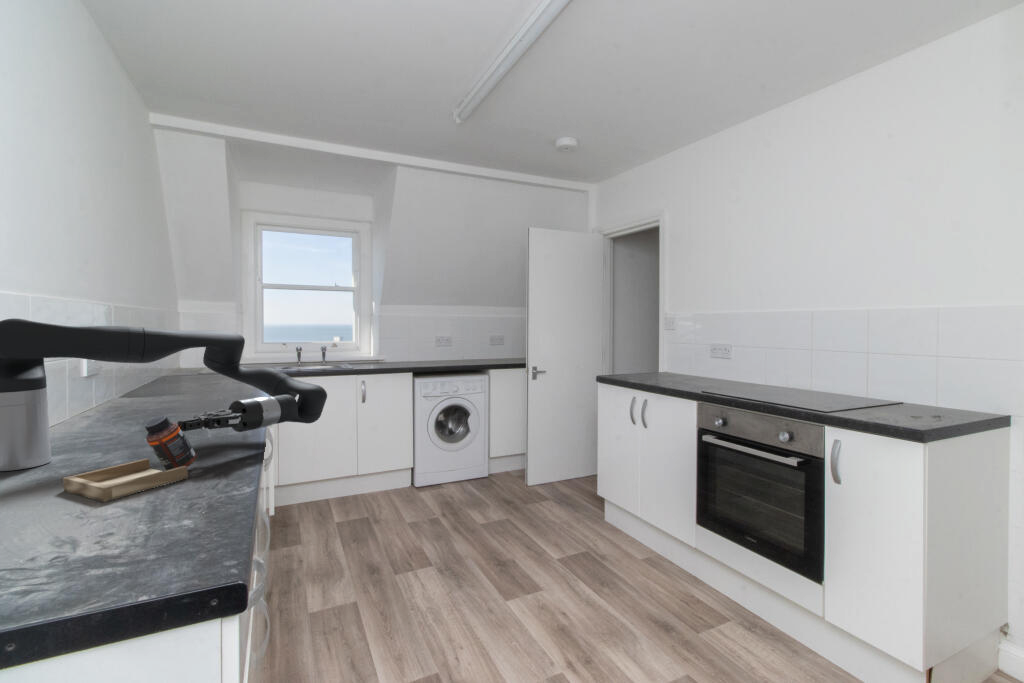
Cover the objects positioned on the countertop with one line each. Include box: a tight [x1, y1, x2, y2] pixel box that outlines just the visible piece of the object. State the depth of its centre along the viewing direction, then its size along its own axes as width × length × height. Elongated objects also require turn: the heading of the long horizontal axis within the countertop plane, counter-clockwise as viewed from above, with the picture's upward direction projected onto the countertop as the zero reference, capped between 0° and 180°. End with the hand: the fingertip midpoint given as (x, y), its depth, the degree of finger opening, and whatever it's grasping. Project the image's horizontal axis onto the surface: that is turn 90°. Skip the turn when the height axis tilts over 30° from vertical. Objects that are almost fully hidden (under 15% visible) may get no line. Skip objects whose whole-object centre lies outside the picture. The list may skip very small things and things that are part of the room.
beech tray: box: [62, 458, 189, 503], centre depth 95 cm, size 15×14×2 cm
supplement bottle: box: [144, 415, 198, 471], centre depth 102 cm, size 6×6×11 cm
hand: (179, 426), depth 104 cm, fingers closed
